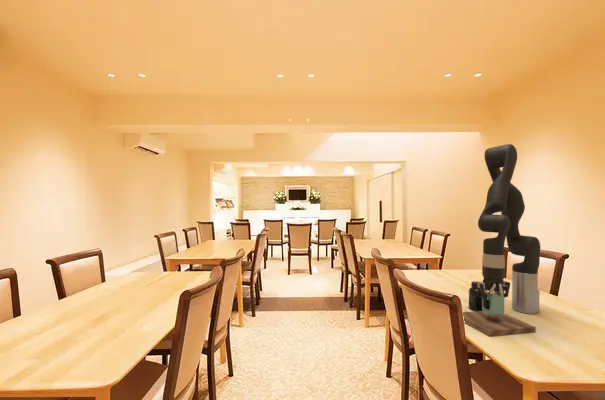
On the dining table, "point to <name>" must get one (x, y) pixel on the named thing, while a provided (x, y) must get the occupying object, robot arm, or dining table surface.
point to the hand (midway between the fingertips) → (493, 308)
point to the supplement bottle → (474, 298)
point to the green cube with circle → (495, 304)
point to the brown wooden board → (496, 324)
